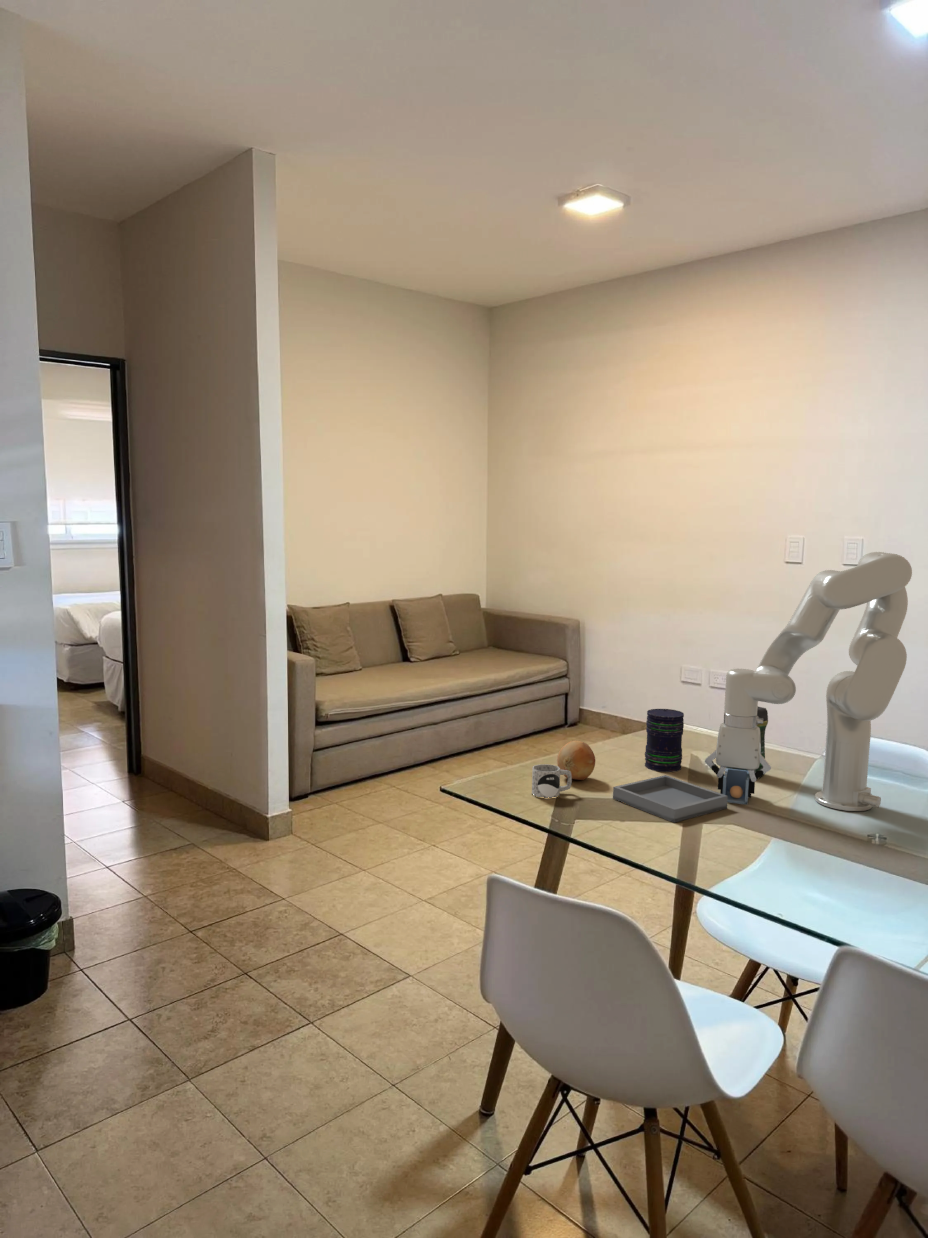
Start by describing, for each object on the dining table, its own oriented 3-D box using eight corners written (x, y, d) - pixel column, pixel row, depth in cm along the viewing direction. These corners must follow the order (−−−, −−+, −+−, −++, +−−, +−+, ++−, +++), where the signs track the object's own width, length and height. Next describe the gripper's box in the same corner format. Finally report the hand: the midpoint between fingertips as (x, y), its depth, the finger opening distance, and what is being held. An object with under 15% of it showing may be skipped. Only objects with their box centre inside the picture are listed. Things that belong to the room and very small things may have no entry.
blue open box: (724, 792, 214) (725, 768, 214) (748, 794, 213) (750, 771, 212) (722, 801, 207) (723, 777, 206) (747, 804, 205) (748, 780, 204)
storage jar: (682, 773, 229) (685, 718, 228) (644, 770, 231) (646, 715, 230) (680, 763, 239) (683, 709, 237) (644, 760, 241) (646, 707, 239)
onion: (552, 782, 219) (553, 744, 218) (561, 772, 229) (562, 734, 228) (590, 787, 216) (592, 748, 215) (597, 776, 226) (599, 738, 224)
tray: (726, 808, 202) (727, 796, 202) (674, 822, 192) (674, 809, 192) (664, 786, 218) (665, 775, 217) (612, 799, 207) (613, 787, 207)
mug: (537, 800, 206) (538, 773, 205) (527, 791, 212) (528, 765, 211) (576, 797, 208) (577, 770, 208) (565, 789, 215) (566, 762, 214)
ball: (746, 789, 208) (745, 796, 206) (737, 796, 210) (736, 803, 207) (736, 781, 208) (735, 788, 206) (727, 788, 210) (726, 795, 207)
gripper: (778, 721, 208) (773, 794, 210) (704, 714, 214) (700, 785, 216) (778, 728, 201) (773, 804, 203) (701, 720, 207) (697, 794, 209)
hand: (735, 793), depth 210 cm, fingers closed on blue open box, 5 cm apart
